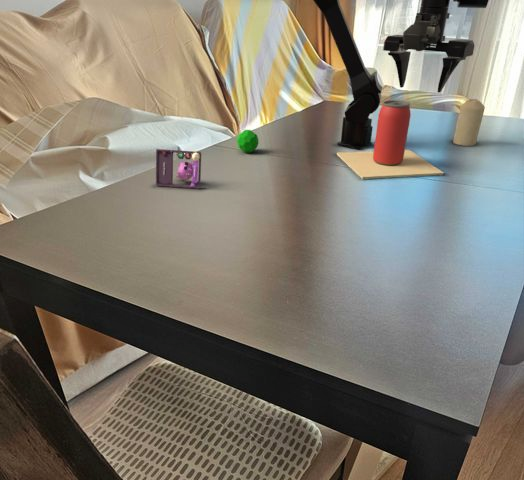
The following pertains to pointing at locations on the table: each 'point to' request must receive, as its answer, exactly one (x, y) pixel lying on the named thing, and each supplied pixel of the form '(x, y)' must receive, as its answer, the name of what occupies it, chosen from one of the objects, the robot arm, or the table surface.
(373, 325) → the table surface
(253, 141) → the polyhedron
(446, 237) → the table surface
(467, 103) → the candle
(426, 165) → the centre mat
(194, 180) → the packaged toy box
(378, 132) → the beer can
